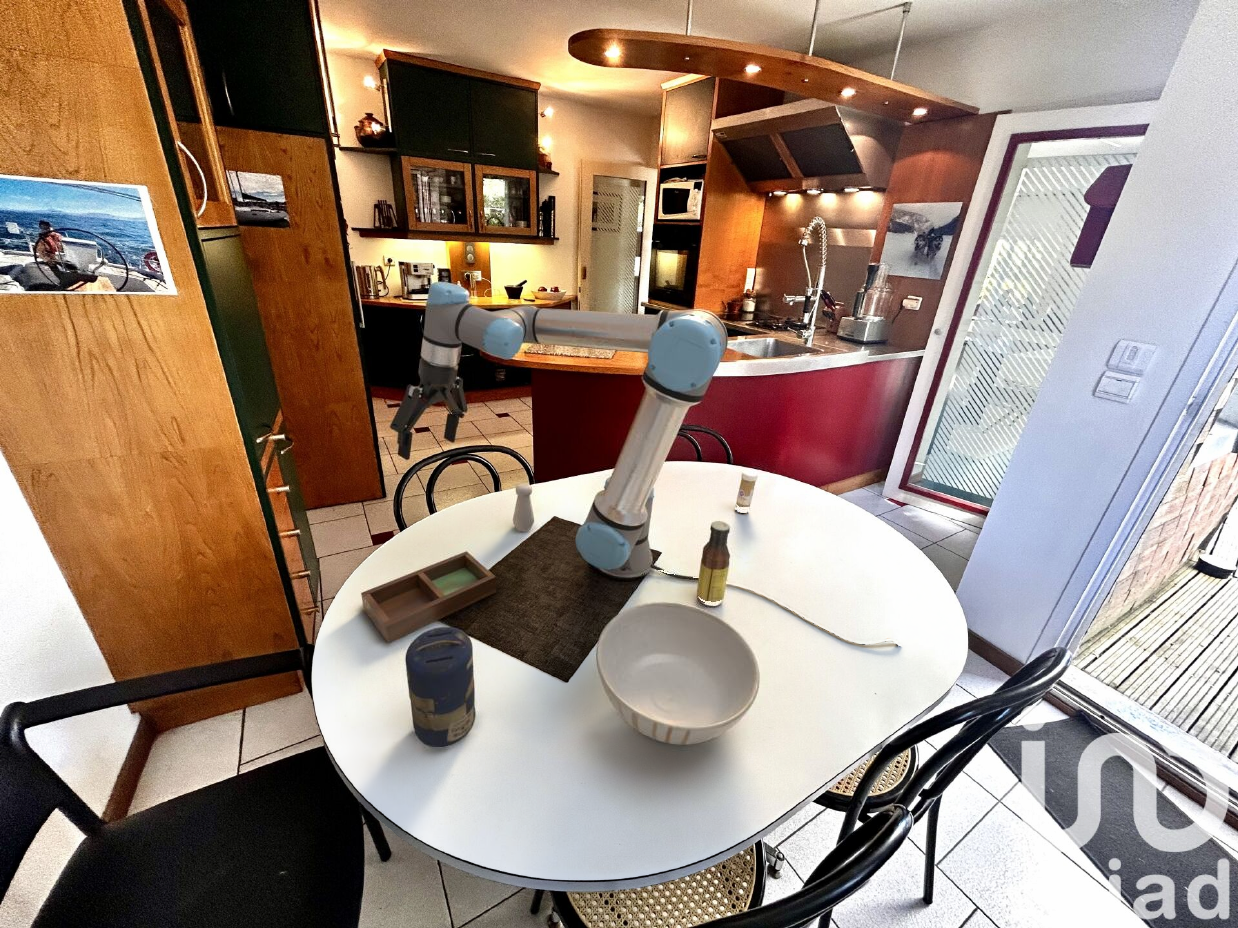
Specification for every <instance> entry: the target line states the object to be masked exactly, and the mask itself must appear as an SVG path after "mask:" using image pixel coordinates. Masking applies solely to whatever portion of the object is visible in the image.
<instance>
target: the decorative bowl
mask: <svg viewBox="0 0 1238 928" xmlns="http://www.w3.org/2000/svg"><path fill="white" fill-rule="evenodd" d="M599 635H600V636H599V637H598V640H597V644H596V651H595V660H596V668H597V673H598V676H599V679H600V682H601V685H602V687H603V690H604V692H605V694H606V696H607V699H609V701H610V703H611V705H612V706H613V708H614V709H615V710H616V711H617V713H618V714H619V715H620V716H621V717H622V718H623V720H624V721H626V722H627V723H628V724H629V725H630V726H631V727H632V728H633V729H634V730H637V732H639V733H641V734H643V735H645V736H647V737H649V738H651V739H653V740H655V741H659V742H661V743H664V744H665V743H666V744H670V745H681V746H684V745H687V746H688V745H696V744H700V743H704V742H707V741H711V740H713V739H715V738H718V737H719V736H721V735H723V734H725V733H726V732H727V731H729V730H730V729H732V728H733V727H734V726H736V725H737V724H738V723H739V722H740V721H741V720H742V718H744V716H745V715H746V714H747V713H748V712H749V710H750V709H751V707H752V706H753V704H754V702H755V700H756V698H757V696H758V692H759V690H760V689H759V688H760V681H761V680H760V678H761V676H760V668H759V664H758V661H757V658H756V656H755V653H754V652H753V650H752V648H751V646H750V645H749V643H748V642H747V640H746V639H745V638H744V636H742V634H741V633H740V632H739V631H737V630H736V629H735V628H734V627H733V626H732V625H730V623H728V622H726V621H725V620H724V619H722V618H721V617H718V616H717V615H715V614H713V613H712V612H709V611H707V610H705V609H702V608H700V607H697V606H693V605H690V604H685V603H681V602H672V601H654V602H645V603H641V604H638V605H634V606H632V607H630V608H627V609H624V610H623V611H621V612H619V613H618V614H616V615H615V616H614V617H613V618H612V619H610V621H609V622H608V623H607V624H606V625H605V627H604V628H603V629H602V631H601V633H600V634H599Z"/></svg>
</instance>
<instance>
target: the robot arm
mask: <svg viewBox="0 0 1238 928" xmlns="http://www.w3.org/2000/svg"><path fill="white" fill-rule="evenodd" d="M428 288H429V289H428V293H427V295H428V296H427V299H426V303H425V315H424V328H423V333H422V342H421V351H420V357H421V358H419V365H418V376H419V378H420V382H419V384H418V386H414V385H412V384H408V385H407V386H406V389H405V394H404V397H403V398H402V401H401V402H400V405H399V406H398V408H397V411H396V413H395V415H394V417H393V419H392V420H391V423H390V425H389V428H390V429H391V430H392V431H394V432H396V433H397V441H396V443H397V444H398V447H397V455H398V456H399V457H401V458H402V459H404V460H406V461H409V460H410V459H411V451H412V443H413V442H412V441H413V435H414V434H413V432H412V429H413V428H414V427H415V425H416V424H417V422H418V421H419V420H420V419H421V417H422V416H423V414H424V413H425V411H426V410H427V409H429V408H430V407H431V406H432V405H435V404H437V403H442V402H443V403H444V405H445V406H446V407H447V409H448V411H449V412H448V413H446V420H445V428H444V432H443V433H444V434H443V439H445V440H447V441H448V442H450V443H452V444H453V443H456V437H457V436H456V435H457V431H458V427H459V424H460V419H463V418H464V417H465V414H466V413H467V412H468V411H469V410H468V404H467V400H466V397H465V392H464V388H463V387H464V380H463V378H461V377H459V376H458V370H459V365H458V364H460V360H461V352H462V345H463V343H464V344H465V345H467V346H470V347H472V348H475V349H477V350H480V351H482V352H484V353H486V354H488V355H490V356H492V357H494V358H495V357H496V358H500V359H503V360H511V359H513V358H515V356H516V355H517V354H518V353H519V352H520V350H521V348H522V346H523V344H531V345H547V346H557V347H558V346H559V347H572V348H581V349H594V350H595V349H596V350H607V351H617V352H618V351H619V352H631V353H642V354H647V363H646V365H645V368H644V370H643V372H642V376H641V380H642V383H643V385H644V387H645V390H644V393H643V395H642V397H641V400H640V403H639V405H638V408H637V410H636V413H635V415H634V418H633V421H632V423H631V425H630V427H629V431H628V433H627V436H626V438H625V440H624V443H623V445H622V448H621V451H620V453H619V456H618V458H617V460H616V464H615V465H614V468H613V470H612V473H611V476H609V477H608V478H606V480H605V481H604V485H603V490H600V491H598V492H596V495H595V496H594V499H593V501H592V503H591V506H590V508H589V510H588V513H587V516H586V518H585V520H584V522H583V524H581V525H580V526H579V527H578V530H577V533H576V535H575V546H576V549H577V552H579V553H580V556H581V557H582V558H583V560H584V561H586V562H587V563H588V564H590V565H591V566H593V568H594V570H595V571H596V572H598V573H599V574H600V575H602V576H604V577H606V578H609V579H612V580H616V581H634V580H638V579H642V578H643V577H645V576H646V575H648V574H649V573H650V572H651V570H652V569H653V570H655V569H656V570H655V571H658V570H663V571H664V570H665V569H664V568H662V567H660V566H657V565H655V564H653V561H654V559H653V553H652V551H651V545H650V541H649V540H650V539H649V533H650V526H651V518H652V511H653V509H652V508H653V503H654V498H655V488H654V486H655V484H656V482H657V479H658V478H659V475H660V473H661V470H662V469H663V466H664V464H665V461H666V459H667V458H668V455H669V453H670V451H671V448H672V446H673V443H675V442H674V441H675V440H676V437H677V436H678V433H679V430H680V429H681V426H682V424H683V422H684V420H685V417H686V415H687V414H688V411H689V408H690V407H693V406H696V405H698V404H700V403H702V400H703V399H704V396H705V395H706V392H707V390H708V387H709V386H710V383H711V381H712V379H713V377H714V375H715V373H716V371H718V367H719V365H720V362H721V360H723V358H724V356H725V354H726V351H727V348H728V343H729V336H728V332H727V327H726V326H725V324H724V322H723V320H722V319H720V318H719V316H718V315H716V314H715V313H713V312H711V311H709V310H707V309H700V308H696V309H695V308H694V309H693V308H692V309H686V310H684V309H683V310H666V309H662V310H660V311H659V312H658V313H657V314H644V313H643V314H642V313H626V312H611V311H610V312H609V311H595V310H579V309H578V310H577V309H562V308H546V307H545V308H544V307H541V308H540V307H537V306H534V305H518V306H515V307H511V308H508V309H507V308H506V309H500V310H495V311H490V310H486V309H483V308H481V307H478V306H476V305H474V304H472V303H471V302H470V292H469V291H468V290H467V289H466V288H465V287H463V286H461V285H458V284H455V283H451V282H446V281H434V282H432V283H431V284H430V286H429V287H428ZM659 572H660V573H662V574H664V575H666V576H667V577H671V578H674V579H679V580H684V581H685V580H686V581H696V582H698V579H699V578H693V577H694V576H689V575H683V574H677V573H673V574H667V573H664V572H661V571H659ZM644 573H645V574H644ZM642 574H643V575H642ZM674 574H675V575H674Z"/></svg>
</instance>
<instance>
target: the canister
mask: <svg viewBox="0 0 1238 928" xmlns="http://www.w3.org/2000/svg"><path fill="white" fill-rule="evenodd" d="M473 648H474V647H473V643H472V640H471V638H470V636H469V635H468V634H467V633H466V632H465V631H464V630H462V629H460V628H458V627H457V628H456V627H453V626H441V627H435V628H432V629H429V630H426V631H424V632H422V633H420V634H419V635H418V636H417V637H416V638H414V639H413V640H412V642H411V643H410V644H409V645H408V648H407V649H406V653H405V658H404V659H405V670H406V678H407V687H408V688H407V689H408V697H409V701H410V708H411V717H412V727H413V730H414V735H415V736H416V738H417V739H418V741H420V743H422V744H423V745H425V746H427V747H430V748H437V749H440V748H441V749H442V748H448V747H451V746H453V745H455V744H457V743H459V742H461V740H463V739H464V738H465V737H467V735H468V734H469V733H470V731H471V730H472V728H473V726H474V724H475V720H476V716H477V715H476V713H477V712H476V705H475V701H476V700H475V699H476V698H475V697H476V693H475V691H476V690H475V689H476V687H475V675H474V672H475V671H474V652H473V650H474V649H473Z"/></svg>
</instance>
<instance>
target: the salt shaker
mask: <svg viewBox="0 0 1238 928" xmlns="http://www.w3.org/2000/svg"><path fill="white" fill-rule="evenodd" d="M515 494H516V495H517V497H516V502H515V506H514V513H513V515H512V516H513V517H512V524H513V525H514V528H516V530H517V531H518V532H522V533H525V532H529V531H531V529H532V527H533V525H534V523H535V516H534V511H533V504H532V499H531V494H533V487H532V485H530V484H529V483H525V482H522V483H519V484H517V485H516V486H515Z"/></svg>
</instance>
